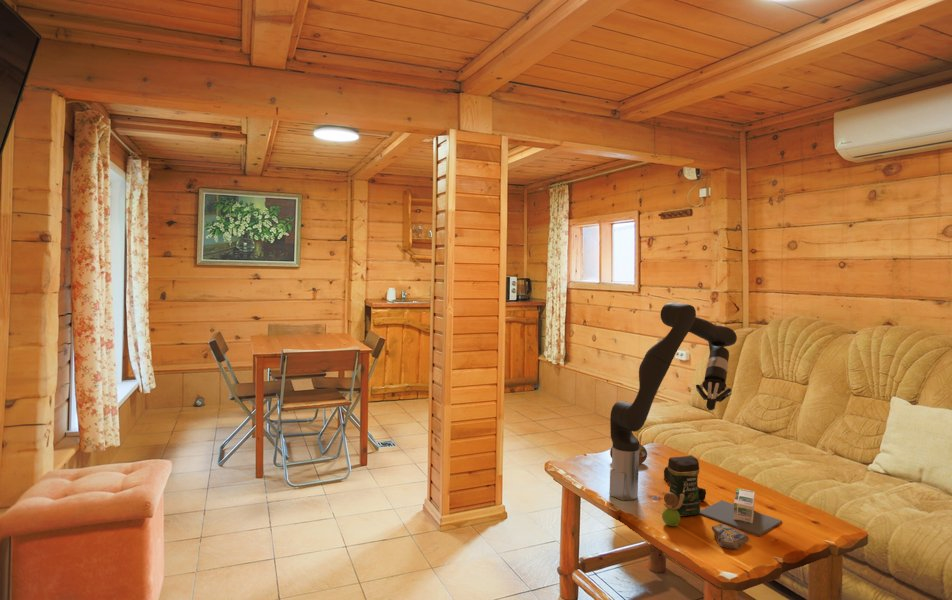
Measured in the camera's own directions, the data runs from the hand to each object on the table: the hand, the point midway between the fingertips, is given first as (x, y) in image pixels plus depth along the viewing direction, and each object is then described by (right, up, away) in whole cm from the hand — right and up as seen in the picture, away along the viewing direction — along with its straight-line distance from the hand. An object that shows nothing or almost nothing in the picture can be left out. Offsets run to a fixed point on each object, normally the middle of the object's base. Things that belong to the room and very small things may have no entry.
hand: (710, 409), depth 207 cm
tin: (-23, -28, +28) cm, 46 cm away
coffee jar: (-17, -31, -20) cm, 40 cm away
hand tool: (-11, -30, +1) cm, 32 cm away
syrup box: (+6, -27, -15) cm, 32 cm away
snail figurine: (-24, -31, -30) cm, 49 cm away
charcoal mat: (0, -31, -23) cm, 39 cm away
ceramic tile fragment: (-10, -32, -39) cm, 52 cm away
